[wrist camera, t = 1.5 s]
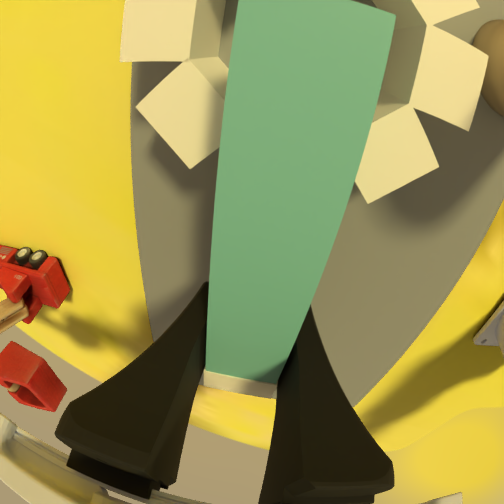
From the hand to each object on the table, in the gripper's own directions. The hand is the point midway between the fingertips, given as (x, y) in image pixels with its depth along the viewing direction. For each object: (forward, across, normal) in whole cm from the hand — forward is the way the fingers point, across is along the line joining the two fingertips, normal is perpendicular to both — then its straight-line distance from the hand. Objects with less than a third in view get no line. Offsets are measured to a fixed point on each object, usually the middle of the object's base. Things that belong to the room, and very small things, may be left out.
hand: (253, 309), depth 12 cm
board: (+4, -2, -2) cm, 5 cm away
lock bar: (-1, 0, -4) cm, 4 cm away
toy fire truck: (+4, +16, +6) cm, 17 cm away
